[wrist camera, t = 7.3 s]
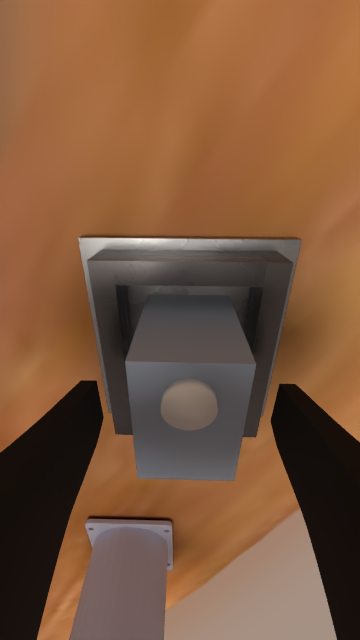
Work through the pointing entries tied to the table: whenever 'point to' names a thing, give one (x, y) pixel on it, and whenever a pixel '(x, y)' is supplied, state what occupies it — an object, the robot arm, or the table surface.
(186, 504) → the table surface
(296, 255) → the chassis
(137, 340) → the block
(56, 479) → the robot arm
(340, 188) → the table surface
